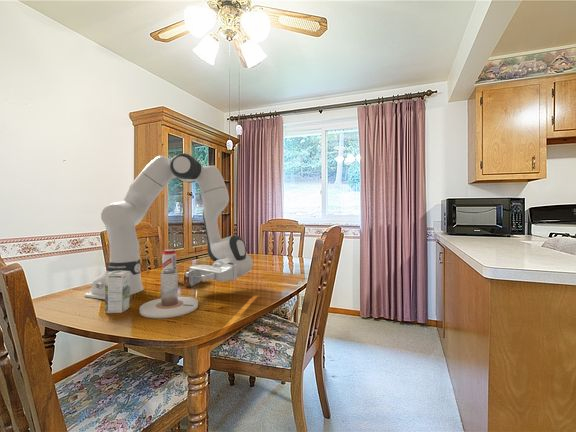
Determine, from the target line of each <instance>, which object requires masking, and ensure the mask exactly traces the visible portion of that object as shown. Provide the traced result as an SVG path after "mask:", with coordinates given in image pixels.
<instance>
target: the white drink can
mask: <svg viewBox="0 0 576 432" xmlns="http://www.w3.org/2000/svg"><path fill="white" fill-rule="evenodd" d="M178 275H179V272H178V271H177V270H176V271H175V269H165V270H163V269H162V272H160V298H161V305H162V306H174V305H176V304H178V296H179V286H178V285H179V284H178V283H179V280H178V279H179V278H178V277H179V276H178Z"/></svg>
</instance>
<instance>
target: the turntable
mask: <svg viewBox="0 0 576 432" xmlns="http://www.w3.org/2000/svg"><path fill="white" fill-rule="evenodd" d="M198 306H199V300H197V298H194V297H192V296H191V297H189V296H179V295H178V304H176V305H174V306H162V305H161V297H160V298H157V299H156V298H155V299H153V300H150V301H146V302H145V303H143V304H142V305H140V306H139V315H140V316H142V317H144V318H147V319H168V318H169V319H170V318H176V317H180V316H181V317H182V316H185V315H187V314H190V313H192V312H194V311H195V310H197V309H198Z"/></svg>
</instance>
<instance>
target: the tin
mask: <svg viewBox="0 0 576 432" xmlns="http://www.w3.org/2000/svg"><path fill="white" fill-rule="evenodd" d="M186 272H189V268H187V269H186V271H185V273H186ZM185 273H184V276H183V285H184V286H185V287H190V288H191V287H194V286H196V285H199V284H200V283H201V282H202V281H203V280H201V277H196V276H191V277H186V276H185Z"/></svg>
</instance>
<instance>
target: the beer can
mask: <svg viewBox="0 0 576 432" xmlns="http://www.w3.org/2000/svg"><path fill="white" fill-rule="evenodd" d="M161 254H162V255H161V257H162V259H161V260H162V271H163V270H165V269H175V271H177V252H176V250H175V249H173V248H169V249H167V248H166V249H163V252H162V253H161Z"/></svg>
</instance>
